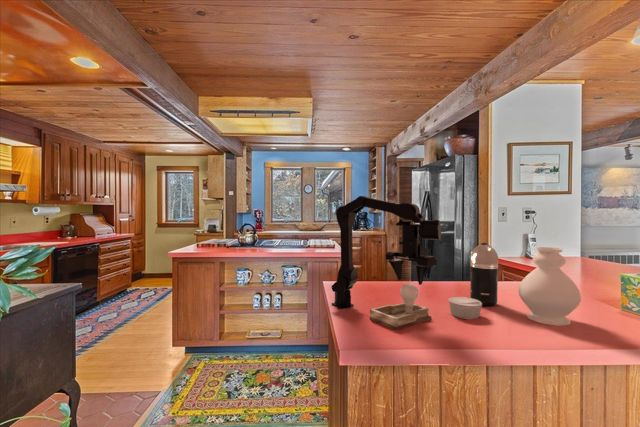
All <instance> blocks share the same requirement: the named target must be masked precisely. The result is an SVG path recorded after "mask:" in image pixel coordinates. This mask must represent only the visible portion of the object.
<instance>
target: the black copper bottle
mask: <svg viewBox="0 0 640 427" xmlns="http://www.w3.org/2000/svg"><path fill="white" fill-rule="evenodd" d="M469 263H470V264H469V265H470V292H469V293H470V294H469V295H470V297H469V298H472V299H476V300H478V301H480V302H481V303H482V307H494V306H496V305H497V304H498V293H499V292H498V291H499V290H498V284H499V283H498V281H499V280H498V275H499V273H498V272H499V271H498V269H499V255H498V252H497V251H496V250H495V249H494V248H493V247H492V246H491V245H489V243H487V242H481V243H480V244H479V245H477V246H475V247H474V248H473V250H472V251H471V252H470V262H469Z"/></svg>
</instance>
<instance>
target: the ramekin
mask: <svg viewBox="0 0 640 427" xmlns="http://www.w3.org/2000/svg"><path fill="white" fill-rule="evenodd" d="M448 303H449V310H450V313H451V314H452V316H453V317H456V318H459V319H464V320H475V319H478V318H479V317H480V315H481V311H482V307H483V306H482V303H481V302H480V301H478V300H476V299H472V298H470V297H465V296H454V297H449V298H448Z"/></svg>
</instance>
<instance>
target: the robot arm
mask: <svg viewBox="0 0 640 427" xmlns="http://www.w3.org/2000/svg"><path fill="white" fill-rule="evenodd" d="M364 208H369V209H373V210H377V211H378V210H379V211H383V212H387V213H391V214H392V215H395V216H396V217H399V218H400V219H399V221H397V222H396V224H395V226H398V227H399V226H400V227H401V241H399V242H398V244H399V245H401V251H398V250H392V251H387V252H386V253H385V260H388V261H387V263H390V266H391V267H392V269H393V270H394V274H395V276H396V277H397V280H399V281H401V280H402V277H403V275H402V274H403V264H404V262H405V261H410V262H415V263H416V264H417V265H416V266H415V270H416V275H417V276H416V277H417V282H418V285H419V286H420V285H423V283H424V280H425V277H426V274H427V272H428V270H429V269H430V268H433V267H434V266H436V265H437V263H438V261H437V258H436V256H433V255H429V254H430V248H427V247H425V246H422V242H421V241H419V237H421V238H422V240H431V241H432V240H436V241H440V240H441V237H442V229H441V222H440V221H441V220H440V219H434V220H433V219H432V220H429V219H428V220H427V219H425V218H424V216H423V215H422V214H421V213H420V212H421V211H420V207H419V206H418V205H417V204H414V203H410V202H409V203H407V202H406V203H402V202H391V201H385V200H381V199H376V198H371V197H368V196H364V195H359V196H358V197H356V198H355V199H354V200H352V201H350V202H348V203H346V204H345V205H341V206H338V208H337V209H336V211H335V217H336V222H337V224H338V227H339V230H340V231H339V232H340V266H339V269H338V271H337V278H336V281H335V282H334V283H333V284H332V285H331V290H332V292H334V302H331V305H333V306H335V307H336V308H340V309H345V308H349V307H354V303H352V295H351V289H353V286H354V285H355V284H356V283H357V281H358V279H359V273H358V272H359V269H358V268H355V266H354V261H353V260H354V259H353V251H354V250H353V227H354V225H355V223H356V215H357V214H358V213H360V212H361V211H362V210H363V209H364ZM405 220H406V221H405ZM407 220H408V221H407Z"/></svg>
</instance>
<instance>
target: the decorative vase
mask: <svg viewBox="0 0 640 427" xmlns="http://www.w3.org/2000/svg"><path fill="white" fill-rule="evenodd" d="M535 251H537V252H538V253H537V252H536V254H534V255H533V257H532V261H533V263H534V264H535V265H536V266H537V267H536V268H534V269H533V270H532V271H530V272H529V273H527V275H525V277H524V278H523V279H522V280H521V282H520V284H519V286H518V295H519V297H520V299H521V300H522V302H523V303H524V305H525V306H526V307H527V309H528V310H530V311H529V312H528V313H527V314H526V318H527V319H529V320H531V321H533V322H537V323H540V324H542V325H543V324H544V325H548V326H557V327H565V326H570V325H571V322H572V321H571V320H570V319H569V318H567V317H568V316H569V315H570V314H571V313H572V312H573V311H575V309H577V308H578V307H579V306H580V303H581V302H582V296H581V291H580V289H579V288H578V286H577V285H576V284H575V282H574V280H572V278H570V276H568V274H566V273H565V272H564V271H563V270H562V269H561V267H563V266H565V265H566V263H567V261H566V258H565V257H564V256H562V254H560V253H562V252H563V248H559V247H550V246H549V247H548V246H547V247H545V246H538V247H537V246H536V247H535Z"/></svg>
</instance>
